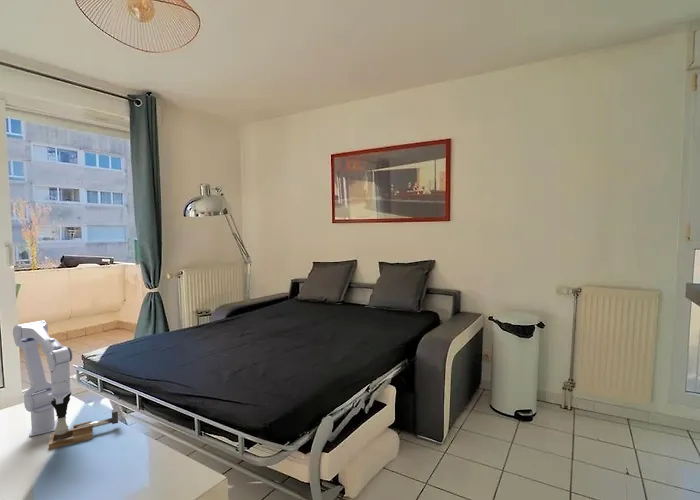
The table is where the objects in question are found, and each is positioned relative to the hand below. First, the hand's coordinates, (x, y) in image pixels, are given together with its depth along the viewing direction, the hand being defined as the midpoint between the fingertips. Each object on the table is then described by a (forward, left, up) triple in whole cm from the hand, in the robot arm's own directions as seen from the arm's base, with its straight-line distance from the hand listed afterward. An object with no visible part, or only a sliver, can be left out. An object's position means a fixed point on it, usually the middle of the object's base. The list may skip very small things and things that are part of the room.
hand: (62, 415), depth 142 cm
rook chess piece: (0, 0, -7) cm, 7 cm away
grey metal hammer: (0, +11, -8) cm, 13 cm away
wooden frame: (0, +3, -10) cm, 10 cm away
